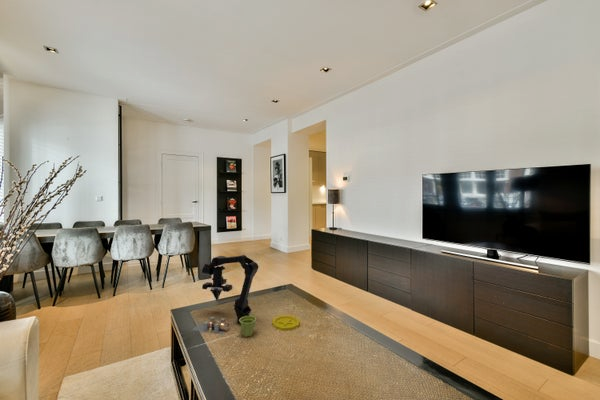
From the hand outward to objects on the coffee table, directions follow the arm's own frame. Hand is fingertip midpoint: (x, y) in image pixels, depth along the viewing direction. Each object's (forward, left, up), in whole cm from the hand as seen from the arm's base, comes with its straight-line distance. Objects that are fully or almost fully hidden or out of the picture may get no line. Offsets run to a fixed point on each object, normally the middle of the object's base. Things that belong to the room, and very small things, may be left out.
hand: (217, 300), depth 172 cm
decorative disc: (-45, -5, -13) cm, 47 cm away
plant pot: (-27, +13, -12) cm, 32 cm away
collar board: (-5, +14, -12) cm, 19 cm away
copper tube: (-9, +14, -11) cm, 20 cm away
